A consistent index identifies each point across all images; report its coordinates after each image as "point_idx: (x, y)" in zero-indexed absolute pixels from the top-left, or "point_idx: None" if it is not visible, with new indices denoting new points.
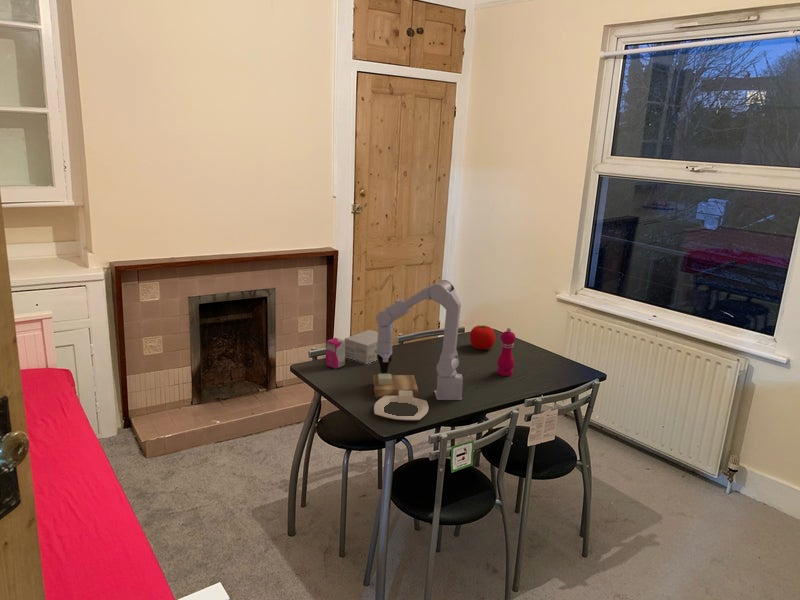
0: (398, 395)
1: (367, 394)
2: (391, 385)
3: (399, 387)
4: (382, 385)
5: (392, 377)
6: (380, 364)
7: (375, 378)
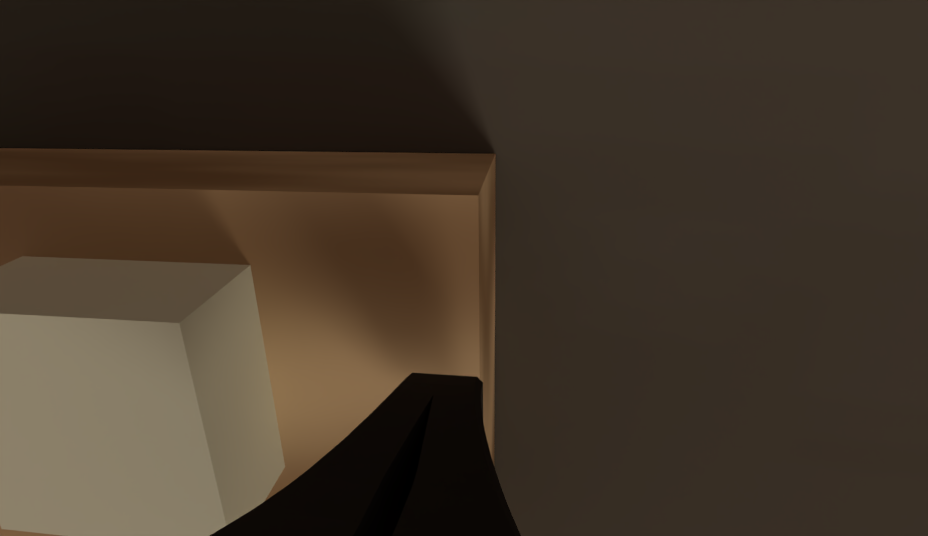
0: None
1: (53, 38)
2: None
3: None
4: None
5: None
6: (251, 525)
7: (293, 225)
